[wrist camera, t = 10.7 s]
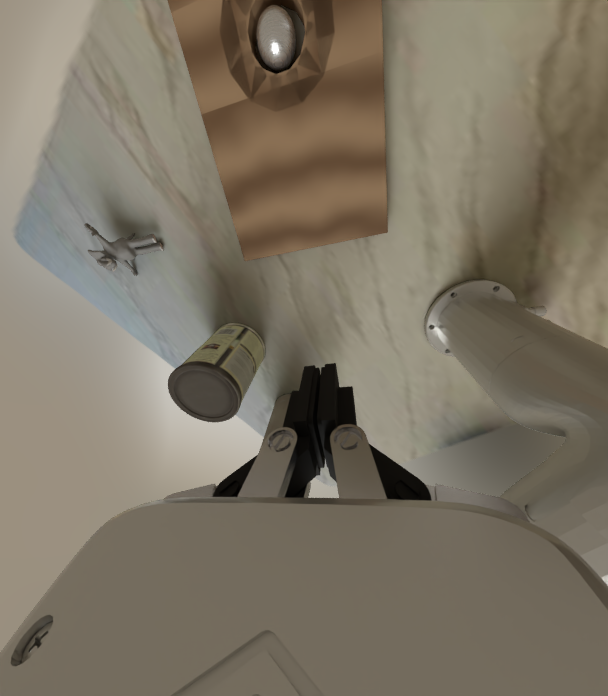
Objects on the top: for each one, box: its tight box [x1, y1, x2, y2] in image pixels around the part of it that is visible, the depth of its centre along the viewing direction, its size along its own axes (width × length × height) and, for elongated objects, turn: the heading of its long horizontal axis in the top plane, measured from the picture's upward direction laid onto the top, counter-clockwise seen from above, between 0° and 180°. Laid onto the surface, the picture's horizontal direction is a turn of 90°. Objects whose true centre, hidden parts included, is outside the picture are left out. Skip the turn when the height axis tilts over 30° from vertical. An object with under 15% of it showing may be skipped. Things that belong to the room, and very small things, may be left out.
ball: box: [256, 5, 296, 71], centre depth 24 cm, size 4×4×4 cm
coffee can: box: [168, 323, 265, 422], centre depth 38 cm, size 10×10×14 cm
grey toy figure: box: [85, 223, 164, 276], centre depth 35 cm, size 10×6×9 cm
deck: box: [168, 0, 388, 261], centre depth 27 cm, size 28×20×2 cm
